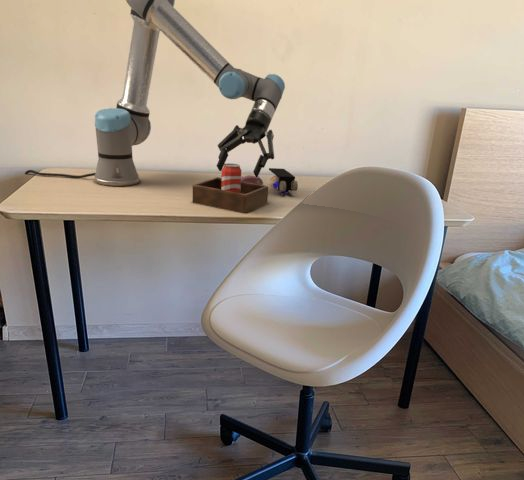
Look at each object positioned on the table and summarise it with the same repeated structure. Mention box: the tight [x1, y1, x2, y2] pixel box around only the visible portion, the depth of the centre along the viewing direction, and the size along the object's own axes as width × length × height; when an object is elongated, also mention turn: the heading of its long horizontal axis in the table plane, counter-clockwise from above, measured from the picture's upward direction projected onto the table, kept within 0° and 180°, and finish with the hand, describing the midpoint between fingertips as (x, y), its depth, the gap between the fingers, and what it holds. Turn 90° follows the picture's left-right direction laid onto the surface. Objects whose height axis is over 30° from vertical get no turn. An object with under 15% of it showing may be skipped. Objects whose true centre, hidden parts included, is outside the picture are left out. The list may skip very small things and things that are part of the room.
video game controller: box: [241, 174, 264, 185], centre depth 182 cm, size 10×5×7 cm, turn 105°
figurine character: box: [268, 167, 299, 197], centre depth 184 cm, size 7×8×15 cm
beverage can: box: [221, 163, 242, 193], centre depth 165 cm, size 6×6×12 cm
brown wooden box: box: [191, 176, 269, 214], centre depth 167 cm, size 20×16×6 cm
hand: (236, 171), depth 166 cm, fingers open, 13 cm apart
